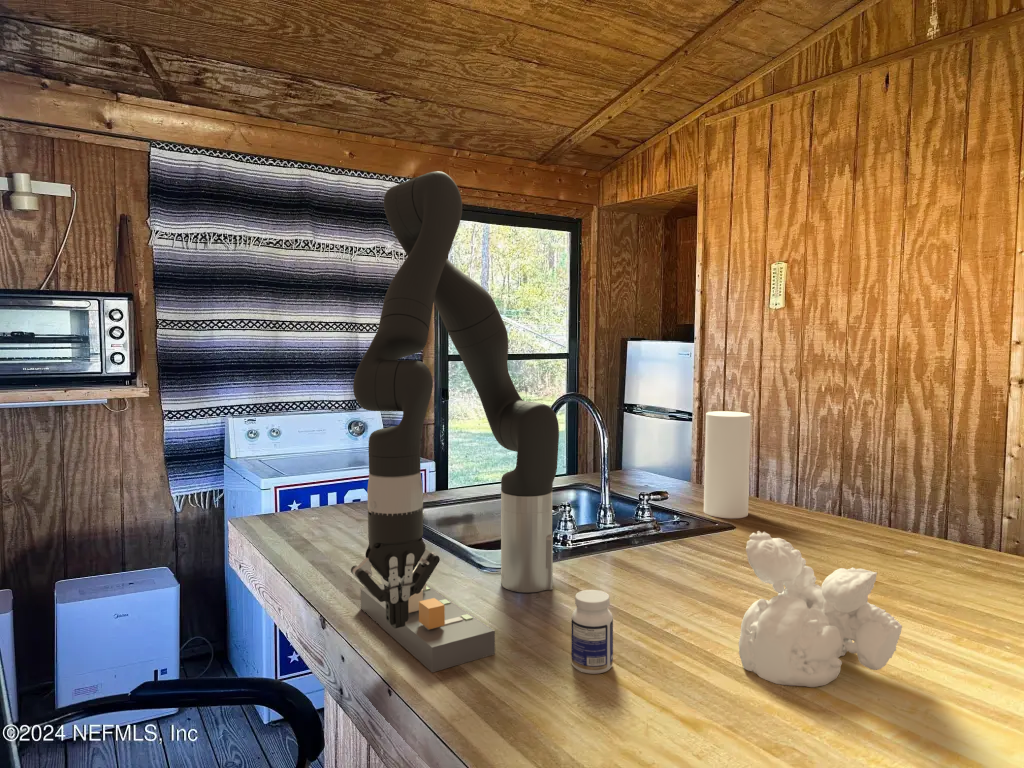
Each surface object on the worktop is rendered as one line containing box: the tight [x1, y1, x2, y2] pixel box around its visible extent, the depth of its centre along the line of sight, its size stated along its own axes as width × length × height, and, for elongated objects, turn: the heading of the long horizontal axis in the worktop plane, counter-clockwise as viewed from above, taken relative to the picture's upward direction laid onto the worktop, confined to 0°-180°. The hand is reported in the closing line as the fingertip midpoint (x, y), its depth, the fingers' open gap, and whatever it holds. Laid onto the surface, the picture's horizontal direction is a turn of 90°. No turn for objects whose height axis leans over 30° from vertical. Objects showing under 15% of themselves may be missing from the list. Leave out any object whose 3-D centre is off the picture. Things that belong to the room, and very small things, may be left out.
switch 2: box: [419, 598, 445, 629], centre depth 104 cm, size 2×3×3 cm
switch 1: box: [408, 590, 423, 612], centre depth 110 cm, size 2×3×3 cm
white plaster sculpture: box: [738, 530, 903, 688], centre depth 100 cm, size 19×20×20 cm
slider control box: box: [359, 583, 496, 673], centre depth 114 cm, size 32×10×4 cm, turn 33°
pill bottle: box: [571, 589, 614, 675], centre depth 100 cm, size 6×6×10 cm
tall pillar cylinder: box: [703, 410, 752, 519], centre depth 180 cm, size 11×11×25 cm
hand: (397, 625), depth 101 cm, fingers closed
